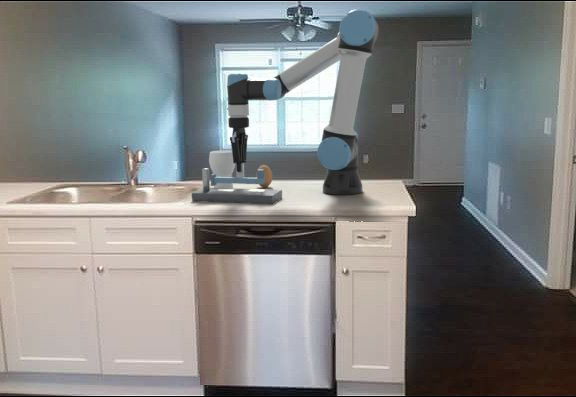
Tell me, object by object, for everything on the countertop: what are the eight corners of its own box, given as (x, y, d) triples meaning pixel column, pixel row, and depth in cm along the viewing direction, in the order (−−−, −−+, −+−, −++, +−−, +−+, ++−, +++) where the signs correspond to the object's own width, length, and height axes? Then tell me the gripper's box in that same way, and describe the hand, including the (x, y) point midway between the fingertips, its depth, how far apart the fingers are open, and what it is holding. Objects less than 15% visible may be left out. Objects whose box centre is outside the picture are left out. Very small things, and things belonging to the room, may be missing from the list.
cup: (232, 191, 220) (231, 153, 217) (206, 191, 222) (204, 153, 219) (240, 187, 230) (238, 150, 228) (215, 186, 232) (213, 150, 230)
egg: (275, 186, 230) (275, 164, 228) (266, 189, 224) (266, 166, 223) (262, 185, 233) (261, 163, 232) (253, 187, 228) (252, 165, 226)
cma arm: (264, 186, 200) (264, 169, 199) (262, 187, 198) (261, 170, 196) (214, 184, 206) (213, 168, 204) (211, 185, 203) (210, 169, 202)
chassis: (282, 198, 204) (281, 167, 202) (272, 204, 193) (271, 172, 191) (205, 195, 212) (204, 166, 210) (192, 201, 201) (190, 170, 199)
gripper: (235, 116, 213) (237, 177, 218) (222, 117, 201) (224, 182, 205) (254, 116, 211) (255, 178, 216) (241, 117, 199) (243, 183, 203)
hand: (240, 180), depth 211 cm, fingers closed
